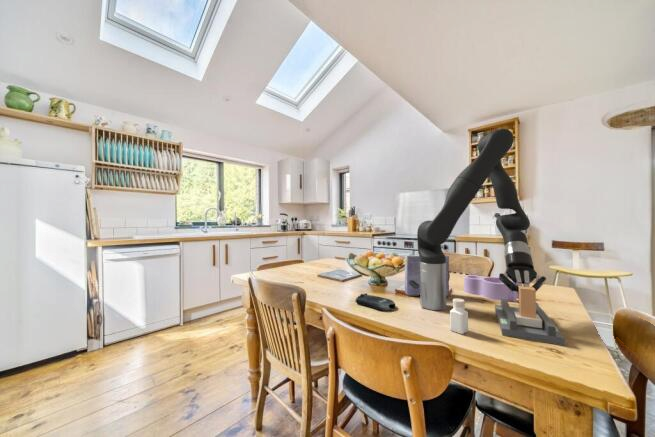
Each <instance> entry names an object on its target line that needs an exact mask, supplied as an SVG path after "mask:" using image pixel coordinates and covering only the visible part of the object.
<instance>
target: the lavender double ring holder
mask: <svg viewBox="0 0 655 437" xmlns="http://www.w3.org/2000/svg"><path fill="white" fill-rule="evenodd" d="M508 279H509V280H510V281H512V280H511V279H510V278H508ZM512 282H513V281H512ZM513 283H514V284H515V282H513ZM463 291H464V293H466V294H470V295H477V296H481V297H483V298H486V299H489V300H494V301H501V298H502V299H506V300H507V302H509V301H510V302H514V303H517V299H519V296H518V292H516V291H511V290H510V289H509V288H508V287H507V286H506V285H505V284H504V283H503V282H502V281H501V280H499V276H498V277H497V276H482V275H476V274H467V275H466V276H463Z"/></svg>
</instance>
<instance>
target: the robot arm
mask: <svg viewBox="0 0 655 437" xmlns="http://www.w3.org/2000/svg"><path fill="white" fill-rule="evenodd" d="M514 139H515V138H514V135H513V132H512V130H510V129H508V128H498V129H494V130H493V131H491V132H489V133H487V134H485V135H483V136H482V137H481V138H480V139H479V140H478V142H477V151H478V156H477V157H476V158H475V159H473V161H472V162H470V163H469V164H468V165H467V166H466V167H465V168H464V169H463V170H462V171H461V172H460V173H459V175H457V177H456V178H455V179H454V181H453V182H452V183H451V185H450V186H449V188H448V190H447V193H446V197H445V201H444V204H443V206H442V208H441V210H440V211H439V212H438V213H437V215H436V216H435V217H434V218H433V219H432V220H425V221H422V223H421V222H420V224H419V226H418V228H417V231H416V232H417V233H416V234H417V236H416V238H417V252H418V253H417V254H418V255H419V256H420V296H419V304H420V306H421V308H422V309H426V310H432V311H443V310H446V309H447V296H446V257H445V256H446V255H445V253H444V252H443V250H442V244H444V243H445V242H446V241H448V239H449V238H450V236H451V234H452V232H453V230H454V229H455V227H456V225H457V222H458V221H459V219H460V218H461V217H462V215H463V214H464V212H465V211H466V209H467V208H468V206H469V205H470V203H471V202H472V201H473V199H474V198H475V197H476V196H477V194H478V193H479V191H480V189H481V188H482V187H483V185H484V183H485V182H486V180H487V179H488V178H489V179H490V182H491V185H492V188H493V193H494V197H495V201H496V205H497V208H498V209H501V210H512V211H514V212H515V213H514V212H513V213H509V214H507V213H506V214H502V215H499V216H498V217H497V218H496V219H495V225H496V227H497V229H498V232H499V233H500V234H501V237H502V239H503V246H504V251H503V252H504V260H505V267H506V270H505V272H504V273H502V272H501V273H499V274H498V275H499V276H498V277H499V280H501V281H502V282H503V283H504V284H505V285H506V286H507V287H508V288H509V289H510V290H511V291H516V292H518V296H519V286H525V287H533V288H534V289H535V290H536V292H537V291H538V290H539V289H541V288H542V286H543V285H544V284H545V283H546V281H547V277H546V276H542V275H541V276H540V275H539V274H538V273H537V271H536V270H535V267H534V262H533V257H532V253H531V249H530V247H529V242H528V237H527V234H526V233H525V232H524V231H527V230H528V229H529V228H530V225H531V221H530V219H529V216H527V214H526V213H525V210H524V209H523V207H522V206H521V203H520V200H519V197H518V193H517V189H516V185H515V183H514V181H513V179H512V177H511V176H510V175H509V173H508V172H507V171H506V169H505V168H504V167H503V166H504V165H502V164H503V163H502V159H503V158H504V156H505V155H507V153H508V152H509V151H510V149H512V146H513V144H514ZM509 279H510V280H512V281H513V282H515V284H514V283H513V282H512V281H510V280H509ZM534 280H535V283H533V285H532V286H530V284H531V283H532V282H533V281H534Z"/></svg>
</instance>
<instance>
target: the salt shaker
mask: <svg viewBox="0 0 655 437" xmlns="http://www.w3.org/2000/svg"><path fill="white" fill-rule="evenodd" d="M465 303H466V302H465V300H464V299H462V298H453V299H452V307H453V308H452V309H451V310H449V329H450V331H452V332H455V333H456V334H457V333H458V334H461V335H463V334H465V333H467V332H468V331H469V312H468V310H465V306H466V304H465Z"/></svg>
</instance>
